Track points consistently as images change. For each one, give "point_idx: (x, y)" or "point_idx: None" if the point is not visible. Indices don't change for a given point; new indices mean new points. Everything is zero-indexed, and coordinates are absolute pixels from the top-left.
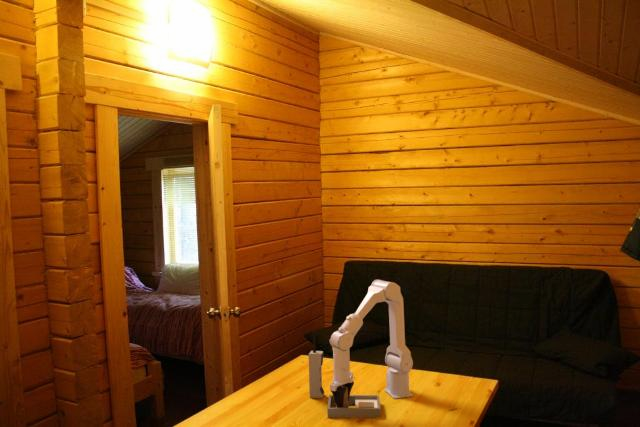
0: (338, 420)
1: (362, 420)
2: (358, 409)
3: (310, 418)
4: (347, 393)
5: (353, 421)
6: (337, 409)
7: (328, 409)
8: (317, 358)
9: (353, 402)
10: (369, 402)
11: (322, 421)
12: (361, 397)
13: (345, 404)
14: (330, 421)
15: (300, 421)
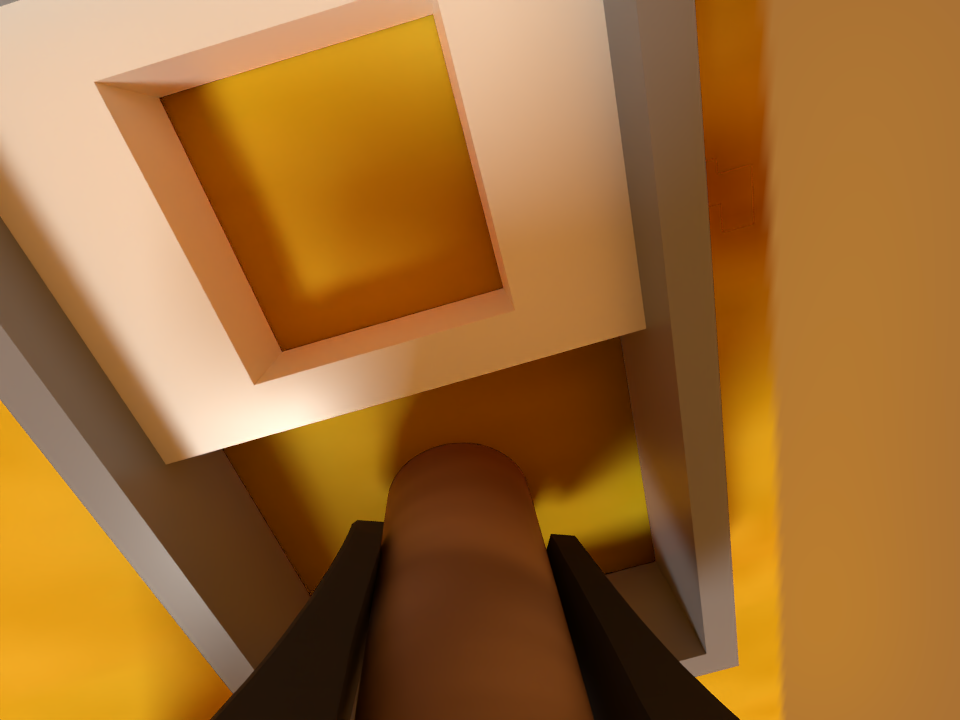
0: (749, 457)
1: (734, 167)
2: (707, 278)
3: (718, 674)
4: (493, 684)
5: (771, 286)
6: (725, 563)
7: (731, 645)
8: None
9: (207, 458)
10: (153, 186)
11: (778, 578)
12: (81, 387)
13: (526, 528)
14: (777, 519)
15: (781, 707)
